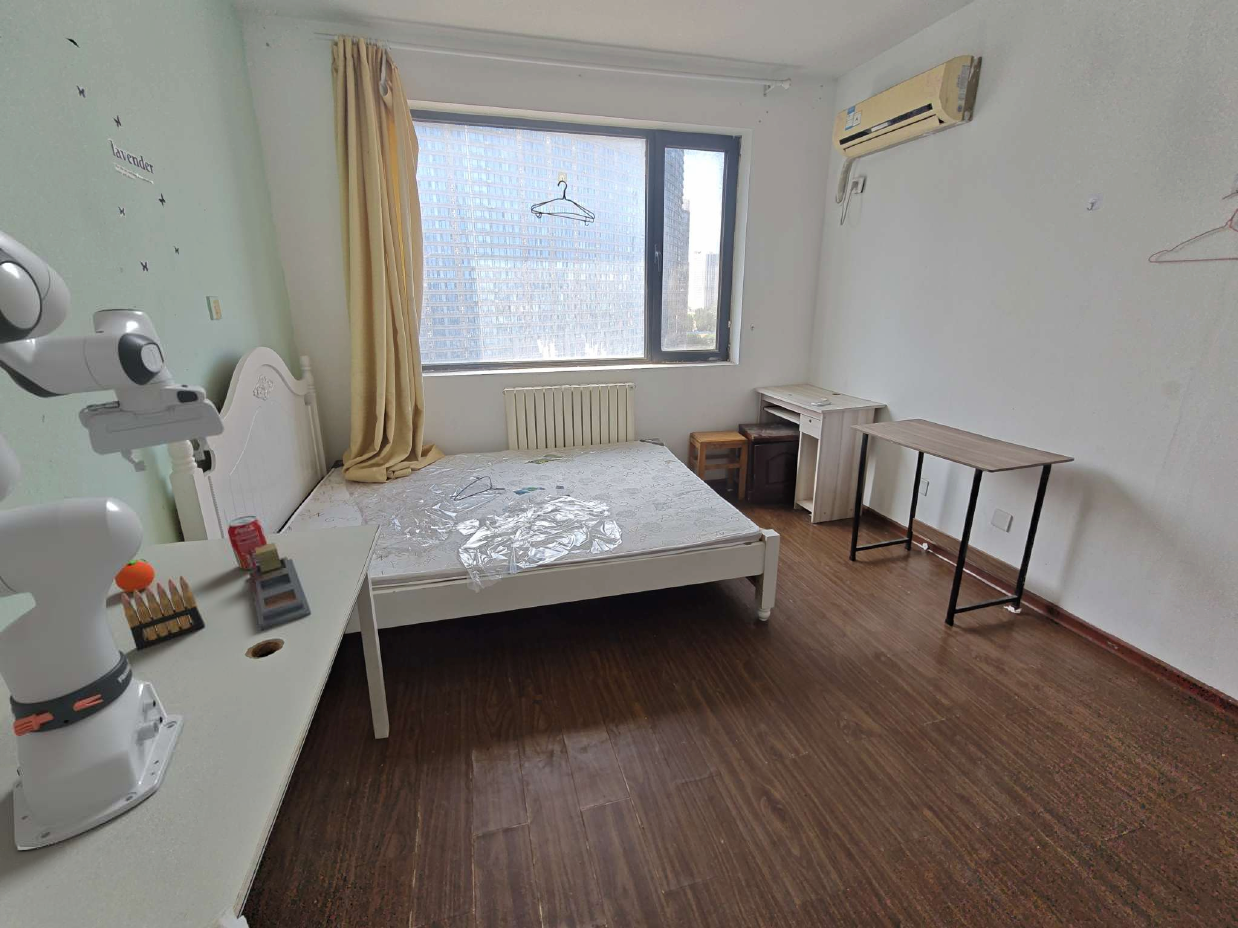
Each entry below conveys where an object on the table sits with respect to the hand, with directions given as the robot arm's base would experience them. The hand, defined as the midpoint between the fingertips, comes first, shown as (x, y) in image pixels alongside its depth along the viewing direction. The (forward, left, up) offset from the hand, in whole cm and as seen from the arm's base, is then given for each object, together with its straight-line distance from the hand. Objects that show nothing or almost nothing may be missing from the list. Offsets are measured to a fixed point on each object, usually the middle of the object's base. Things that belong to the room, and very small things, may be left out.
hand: (171, 464), depth 109 cm
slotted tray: (-4, -11, -33) cm, 34 cm away
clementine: (+22, +15, -33) cm, 42 cm away
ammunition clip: (-8, +8, -33) cm, 35 cm away
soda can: (+17, -8, -33) cm, 38 cm away
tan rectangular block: (+5, -11, -31) cm, 33 cm away
